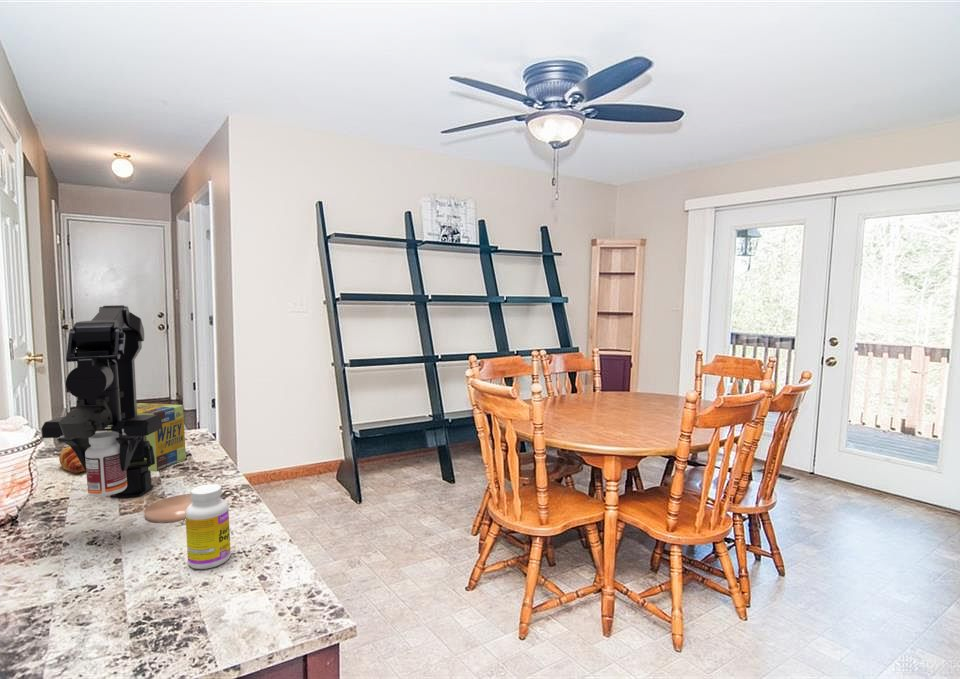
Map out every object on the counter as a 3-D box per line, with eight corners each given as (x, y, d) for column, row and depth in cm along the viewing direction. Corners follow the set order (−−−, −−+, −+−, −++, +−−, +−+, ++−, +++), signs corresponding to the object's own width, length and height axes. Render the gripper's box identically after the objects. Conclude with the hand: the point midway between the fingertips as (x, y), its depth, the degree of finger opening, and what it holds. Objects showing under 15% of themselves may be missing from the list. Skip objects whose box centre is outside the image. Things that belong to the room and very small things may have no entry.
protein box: (157, 471, 140) (153, 413, 139) (108, 467, 144) (104, 410, 142) (187, 459, 150) (184, 404, 149) (141, 456, 154) (137, 402, 152)
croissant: (73, 469, 154) (54, 447, 151) (110, 447, 158) (92, 425, 156) (68, 490, 136) (47, 465, 133) (109, 465, 141) (90, 440, 138)
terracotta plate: (131, 523, 109) (130, 519, 109) (164, 498, 122) (164, 494, 122) (197, 521, 110) (197, 516, 109) (223, 497, 122) (223, 492, 122)
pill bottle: (129, 483, 107) (126, 428, 106) (124, 494, 101) (121, 436, 100) (91, 488, 104) (87, 432, 103) (84, 500, 98) (80, 440, 97)
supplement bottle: (224, 569, 91) (220, 494, 90) (182, 572, 90) (177, 497, 89) (235, 550, 97) (232, 480, 96) (196, 553, 96) (192, 483, 95)
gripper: (13, 398, 92) (21, 487, 94) (126, 396, 93) (133, 484, 95) (60, 386, 103) (66, 466, 105) (161, 385, 104) (166, 464, 106)
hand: (106, 470), depth 102 cm, fingers closed on pill bottle, 6 cm apart
